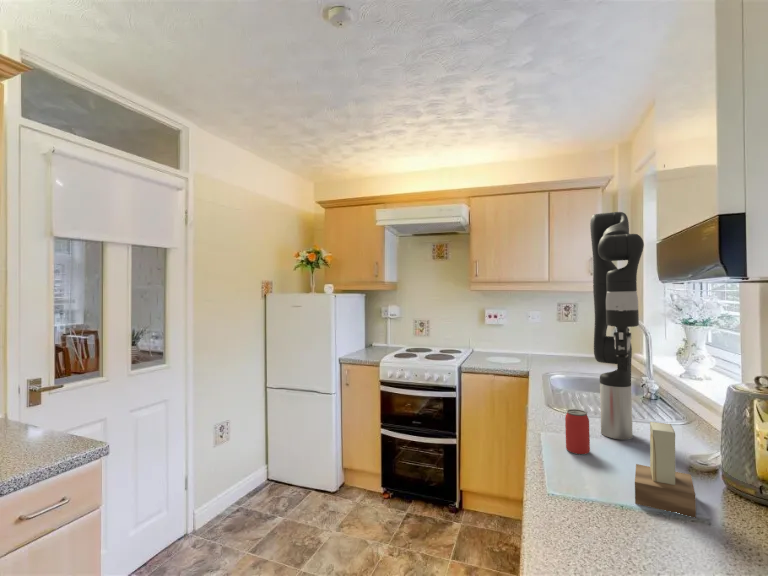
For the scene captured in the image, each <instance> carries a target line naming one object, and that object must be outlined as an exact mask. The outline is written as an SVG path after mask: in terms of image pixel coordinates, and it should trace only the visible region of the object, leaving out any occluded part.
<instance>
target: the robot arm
mask: <svg viewBox="0 0 768 576" xmlns="http://www.w3.org/2000/svg"><path fill="white" fill-rule="evenodd" d="M629 224H630V222H629V218H628V215H627V213H625V212H623V211H614V212H603V213H595V214H592V216H591V218H590V224H589V225H590V240H591V249H592V252H591V253H592V264H593V265H592V268H593V269H592V271H593V272H592V275H593V276H592V285H593V286H592V288H593V291H592V293H593V305H594V309H593V310H594V331H593V334H594V335H593V336H594V337H593V354H594V355H593V356H594V359H595V360H596V361H597V362H598V363H602V364H610V365H611V364H612V365H617V367H616V369H615V370H613V371H608V372H603V373H601V374H600V375H599V393H600V394H599V395H600V399H599V401H600V403H599V405H600V434H601V435H603V436H605V437H608V438H610V439H615V440H623V441H624V440H632V439H633V434H634V433H633V404H632V403H633V402H632V401H633V398H632V397H633V396H632V395H633V394H632V354H633V351H632V350H633V347H632V343H631V342H632V341H631V340H632V332H630V328H629V327H631V328H632V327H638V326H639V325H640V324H639V323H640V322H639V321H640V319H639V297H638V289H637V287H638V285H637V278H638V277H637V275H638V269H639V265H640V260H641V258H642V254H643V252H644V248H645V243H644V240H643V238H642V236H641V235H640V234H637V233H630V225H629ZM617 261H627V264H626V265H625V266H623V267H621V268H618V267H617V266H616V265H615V264H614V263H613V262H617ZM608 327H616V331H615V332H614V333H613V336H612V335H609V336H608V335H607V331H608Z"/></svg>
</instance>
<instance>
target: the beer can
mask: <svg viewBox="0 0 768 576" xmlns="http://www.w3.org/2000/svg"><path fill="white" fill-rule="evenodd" d="M564 420H565V449H566V450H567V451H568V452H569V453H572V454H575V455H579V454H580V456H581V455H582V456H584V455H587V454H590V451H591V444H590V443H591V441H590V439H591V438H590V418H589V416H588V413H587V412H586V411H585V410H582V409H576V408H575V409H574V408H573V409H572V408H571V409H567V410H566V414H565V418H564Z"/></svg>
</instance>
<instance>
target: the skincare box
mask: <svg viewBox="0 0 768 576" xmlns="http://www.w3.org/2000/svg"><path fill="white" fill-rule="evenodd" d="M649 432H650V433H649V442H650V444H649V445H650V446H649V449H650V450H649V451H650V452H649V453H650V454H649V456H650V457H649V458H650V459H649V463H650V464H649V467H650V471H651V475H652V479H653V481H655V482H660V483H666V484H671V485H675V472H676V431H675V429H674V427H673V425H672V424H671V423H665V422H664V423H663V422H656V421H649Z"/></svg>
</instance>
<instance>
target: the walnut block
mask: <svg viewBox="0 0 768 576" xmlns="http://www.w3.org/2000/svg"><path fill="white" fill-rule="evenodd" d="M692 477H693V476H692V474H690V473H685V472H684V473H683V472H679V471H675V485H671V484H666V483H660V482H655V481H653V479H652V475H651V471H650V465H649V466H648V465H644V464H638V463H635V473H634V501H635V502H634V504H636V505H639V504H640V506H644V507H648V508H652V509H655V510H660V511H664V510H666V511H665V512H668V511H671V512H670V513H672V512H677V513H680V514H679V515H681V514H683V515H682V516H685V515H687V516H686V517H689V516H691V517H690V518H693V517H695V518H694V519H696V518H697V509H696V500H697V499H696V493H695V492H696V491H695V488H694V487H695V486H694V483H693V479H692Z"/></svg>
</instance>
